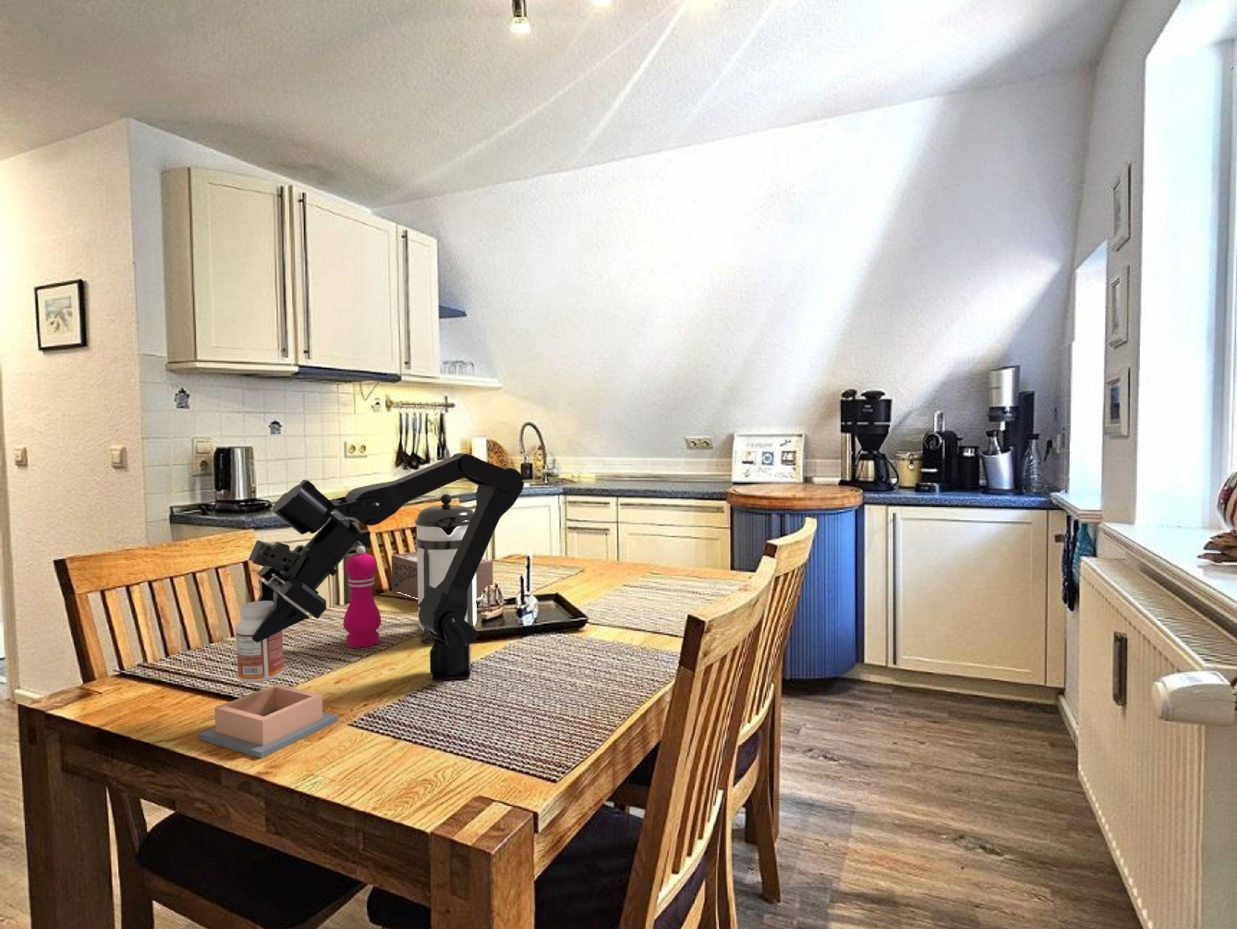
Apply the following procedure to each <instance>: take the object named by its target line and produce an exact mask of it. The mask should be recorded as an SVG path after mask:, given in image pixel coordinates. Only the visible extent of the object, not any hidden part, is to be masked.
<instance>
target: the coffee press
mask: <svg viewBox="0 0 1237 929" xmlns="http://www.w3.org/2000/svg"><path fill="white" fill-rule="evenodd" d="M452 500H453V499H452V497H451V495H450V494H448V493H445V494H442V495H441V497H440V502H441V503H442V504H440V505H434V506H433V505H432V506H427V507H425V508H423V509H421V510H420V511H419V512H418V514H417V517H416V518H415V519H414V525H415V526H416V537H415V546H416V552H417V566H418V601H417V608H418V609H417V612H418V613H417V614H418V615H419V611H420V607H418V605H419V604H420V602H421V601H422V600H423V598H424V595H425V591H426V589H427V587H428V586H432V587H434V588H436V587H437V586H438V585H439V584H440V583H441V582H442V581H443V579H444V578H445V576H446V573H447V571H448V569H449V567H450V565H451V562H452V560H453V558H454V556H455V554H456V551H457V549H458V547H459V545H460V543H461V540H462V538H463V536H464V534H465V532H466V529H467V527H468V525H469V523H470V521H471V518H472V516H473V514H474V512H475V511H473V509H471V508H469V507H467V506H464V505H458V504H457V505H456V504H454V505H451V504H450V503H451V502H452ZM417 618H418V627H419V629H420V631H421V630H422V634H421V636H420V643H421V644H427V645H428V644H430V642H431V641H432V639H433V638H434V637H431V636H430V634H429V632H428V629H426V628H424V627H423V626H422V624H421V623H420V620H419V617H417ZM465 621H466V622H467V623H468V624H469V625H471V626H472V627H473V628H474V629H475V630H476V628H475V625H476V623H477V603H476V574H475V576H474V578H473V580H472V583H471V585H470V587H469V590H468V609H467V613H466V617H465Z"/></svg>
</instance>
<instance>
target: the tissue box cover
mask: <svg viewBox="0 0 1237 929" xmlns="http://www.w3.org/2000/svg"><path fill="white" fill-rule="evenodd" d="M390 560H391V591H392V592H393V593H395V592H401V593H403V594H407V595H410V596H411V597H415V598H418V566H417V551H412V552H411V551H410V552H405V553H396V554H391V559H390ZM493 562H494V561H492V560H489V559H485V558H482V560H481V562H480V565H479V567H478V569H477V571H476V598H479V597H481V595H482V592H483V591H484V589H485V588H486V587H487V586H489V585H493V586H494V568H493V567H494V565H493Z"/></svg>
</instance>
